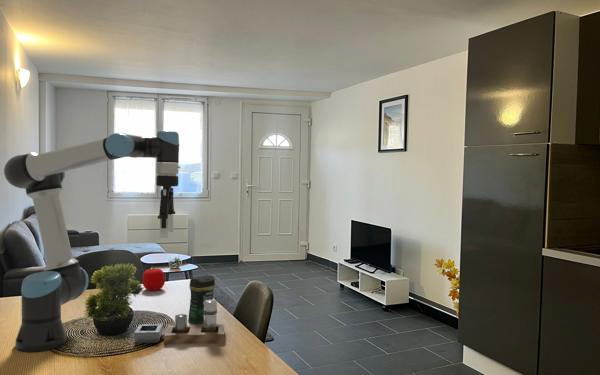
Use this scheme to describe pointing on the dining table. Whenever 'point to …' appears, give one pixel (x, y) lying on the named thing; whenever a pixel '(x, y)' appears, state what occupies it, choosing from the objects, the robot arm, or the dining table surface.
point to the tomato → (153, 279)
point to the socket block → (148, 333)
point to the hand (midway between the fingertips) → (166, 234)
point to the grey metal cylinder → (210, 315)
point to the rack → (194, 335)
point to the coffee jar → (200, 297)
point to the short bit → (181, 323)
